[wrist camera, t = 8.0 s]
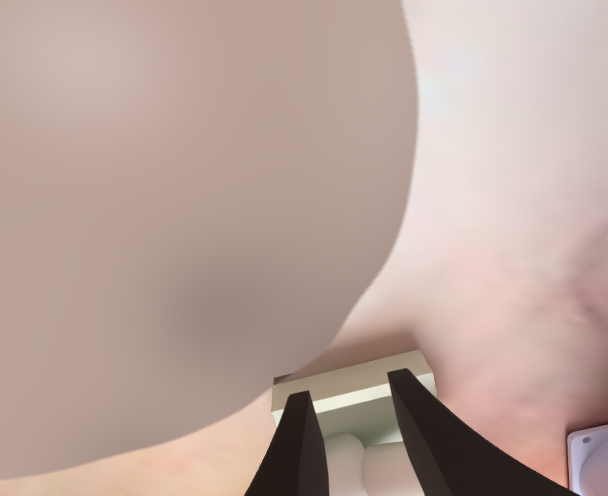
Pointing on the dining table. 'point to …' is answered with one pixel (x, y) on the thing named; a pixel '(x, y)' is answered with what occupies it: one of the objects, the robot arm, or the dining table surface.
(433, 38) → the dining table surface
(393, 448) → the white rounded piece
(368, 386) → the tray
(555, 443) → the dining table surface
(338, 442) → the pale pink rounded cylinder
